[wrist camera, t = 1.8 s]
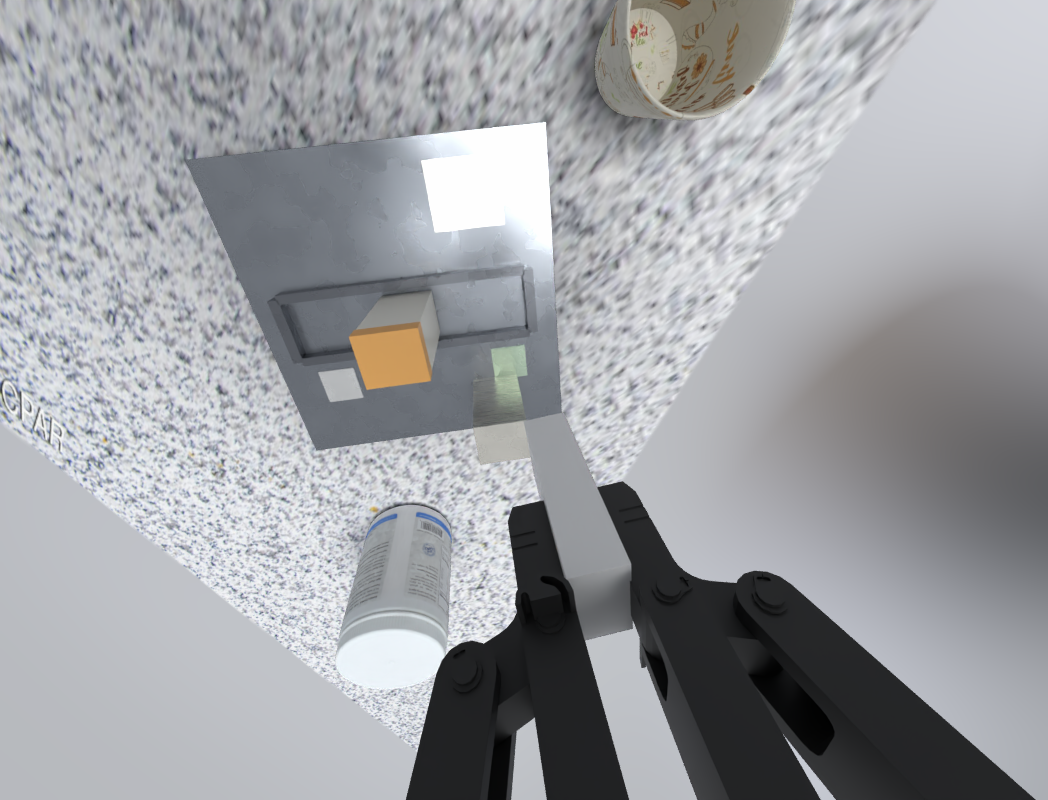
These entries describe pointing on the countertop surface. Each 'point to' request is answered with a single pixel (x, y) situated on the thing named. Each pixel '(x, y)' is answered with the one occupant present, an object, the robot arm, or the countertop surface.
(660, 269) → the countertop surface
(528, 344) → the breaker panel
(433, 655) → the supplement tub
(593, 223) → the countertop surface
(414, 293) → the handle
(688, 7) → the mug
